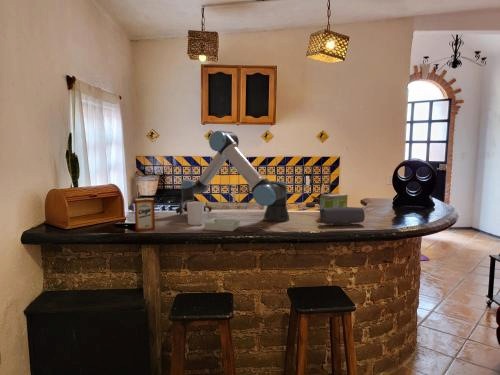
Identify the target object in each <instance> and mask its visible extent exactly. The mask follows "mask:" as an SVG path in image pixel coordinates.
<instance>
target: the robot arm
mask: <svg viewBox="0 0 500 375" xmlns="http://www.w3.org/2000/svg"><path fill="white" fill-rule="evenodd" d="M208 140H209V141H208V144H209V148H211V150H212V151H213V152H217V153H216V154H215V155H214V157H213V158H212V160H211V161H210V162H209V164H208V165H207V166H206V168H205V169H204V171H203V172H202V173H201V175H200V176H199V177H198V179H197V181H194V180H193V179H183V180H182V181H181V202H180V204H181V206H179V207H177V208H175V213H176V214H179V215H183V216H185V214H186V213H187V202H194V201H195V195H196V194H203V193H205V192H207V191H208V189H209V184H211V182H212V180H213V179H214V178H215V177H216V175H217V174H218V172H219V171H220V170H221V168H222V167H223V165H225V163H226V161H227V160H228V161H229V163H230V164H231V165H232V166H233V167H234V169H235V170H236V171H237V172H238V174H239V175H240V176H241V177H242V179H243V180H244V181H245V182H246V183H247V184H248V185H249V187H250V192H251V193H252V195H253V199H254V201H255V203H256V204H258V205H259V206H263V207H266V209H265V211H264V214H263V220H264V221H266V222H272V223H273V222H274V223H275V222H276V223H278V222H279V223H281V222H288V221H290V215H289V212H288V207H287V200H288V198H287V197H288V196H287V194H288V193H287V192H288V190H287V189H288V187H287V186H288V185H287V182H285V181H280V180H278V181H277V180H269V179H268V178H267V177H263V176H262V175H261V174H260V173H259V171H257V169H256V168H255V167H254V166H253V164H251V162H250V161H249V159H247V157H246V156H245V155H244V154H243V153H242V152H241V150H240V149H239V148H238V147H239V142H240V140H239V137H238V136H237V134H236V133H234V132H232V131H224V130H215V131H214V132H212V133H211V135H210V136H209V139H208ZM210 212H212V206H206V205H204V213H206V214H207V215H209V214H210Z"/></svg>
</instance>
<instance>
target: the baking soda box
mask: <svg viewBox="0 0 500 375" xmlns="http://www.w3.org/2000/svg"><path fill="white" fill-rule="evenodd" d="M155 219H156V218H155V198H152V197H149V198H147V197H144V198H134V220H135V221H134V223H135V224H134V225H135V229H134V230H135V232H139V231H154V230H156V227H155V226H156V225H155Z"/></svg>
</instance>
